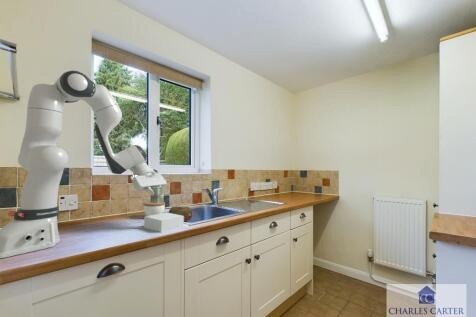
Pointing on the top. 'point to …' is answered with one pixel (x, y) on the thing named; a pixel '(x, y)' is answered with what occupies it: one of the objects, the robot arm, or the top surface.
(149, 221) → the white square box
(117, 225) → the top surface
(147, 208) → the lidded bowl
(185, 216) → the brown rounded slab
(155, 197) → the sage block
